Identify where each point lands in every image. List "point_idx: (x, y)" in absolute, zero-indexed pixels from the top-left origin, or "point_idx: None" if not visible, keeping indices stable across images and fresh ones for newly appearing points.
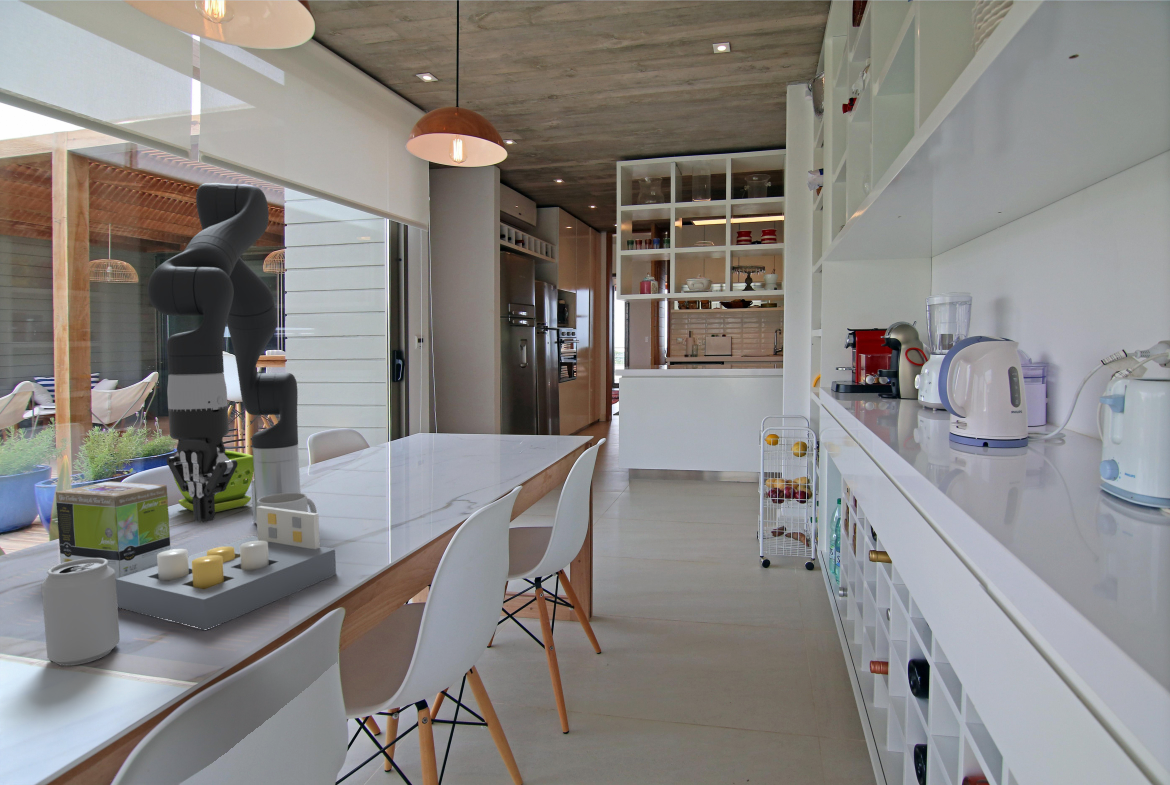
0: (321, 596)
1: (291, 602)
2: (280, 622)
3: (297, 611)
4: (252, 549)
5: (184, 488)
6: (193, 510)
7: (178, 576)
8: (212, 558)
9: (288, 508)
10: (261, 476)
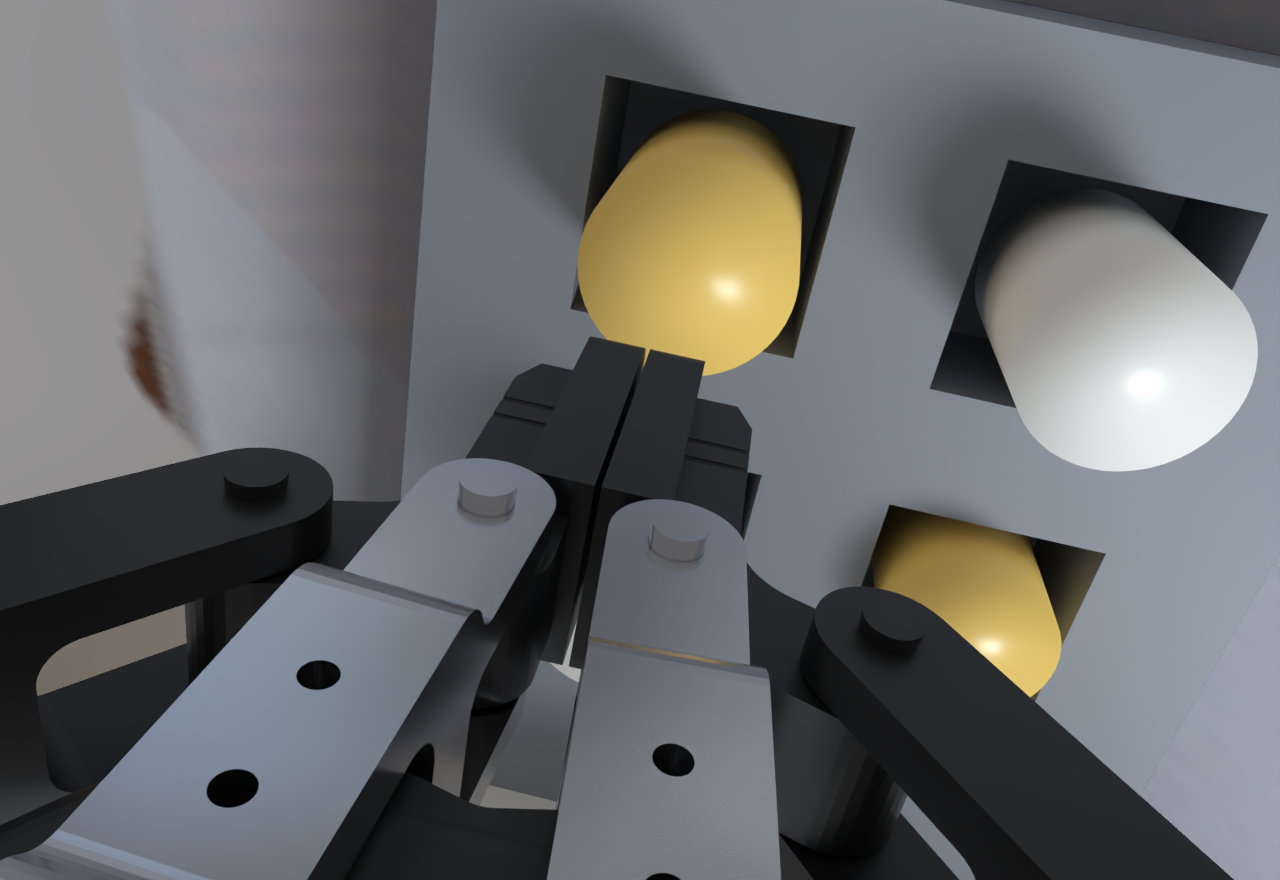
0: (281, 447)
1: (364, 356)
2: (206, 111)
3: (241, 258)
4: None
5: (856, 617)
6: (744, 448)
7: (1005, 263)
8: (668, 307)
9: None
10: None
